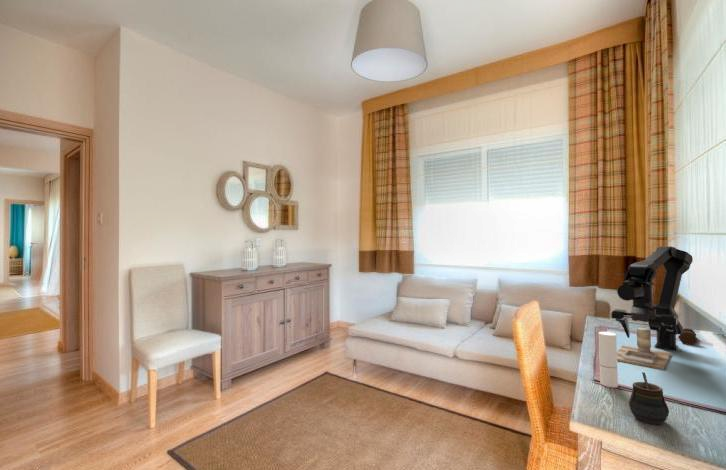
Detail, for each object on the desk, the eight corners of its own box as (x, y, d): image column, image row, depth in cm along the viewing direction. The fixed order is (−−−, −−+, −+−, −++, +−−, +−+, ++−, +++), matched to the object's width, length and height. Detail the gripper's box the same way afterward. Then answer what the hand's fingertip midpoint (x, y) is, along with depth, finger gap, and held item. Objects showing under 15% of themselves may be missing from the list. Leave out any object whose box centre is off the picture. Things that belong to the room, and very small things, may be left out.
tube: (618, 388, 99) (616, 336, 99) (600, 385, 102) (598, 334, 102) (617, 383, 103) (615, 332, 103) (599, 380, 105) (598, 330, 105)
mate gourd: (636, 425, 80) (634, 381, 80) (624, 410, 87) (622, 370, 87) (675, 429, 78) (673, 384, 78) (659, 414, 85) (657, 373, 85)
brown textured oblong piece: (691, 341, 148) (690, 348, 137) (677, 333, 151) (675, 340, 140) (700, 330, 146) (700, 336, 135) (685, 323, 149) (685, 328, 138)
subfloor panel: (623, 346, 136) (623, 344, 136) (670, 354, 126) (670, 352, 126) (611, 359, 122) (611, 357, 122) (663, 369, 112) (663, 367, 112)
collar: (627, 352, 127) (627, 349, 127) (656, 357, 121) (656, 354, 121) (622, 358, 121) (622, 355, 121) (652, 364, 115) (652, 360, 115)
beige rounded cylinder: (638, 348, 131) (637, 327, 131) (651, 351, 128) (651, 329, 128) (636, 351, 128) (635, 329, 129) (650, 353, 126) (649, 331, 126)
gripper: (607, 298, 130) (608, 340, 130) (673, 304, 116) (675, 350, 116) (613, 294, 138) (615, 333, 137) (676, 299, 124) (678, 343, 124)
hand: (644, 340), depth 128 cm, fingers open, 9 cm apart
